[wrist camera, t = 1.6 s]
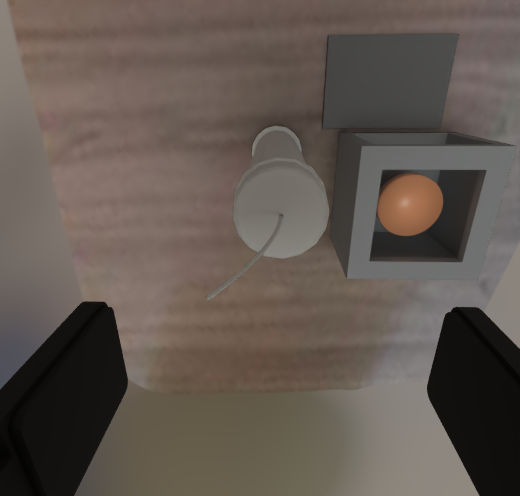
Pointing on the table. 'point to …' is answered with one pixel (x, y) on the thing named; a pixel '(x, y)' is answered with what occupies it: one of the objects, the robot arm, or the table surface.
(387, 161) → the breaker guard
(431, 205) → the button
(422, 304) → the table surface
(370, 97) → the mat
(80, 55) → the table surface
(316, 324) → the table surface
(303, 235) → the grey cylindrical piece
